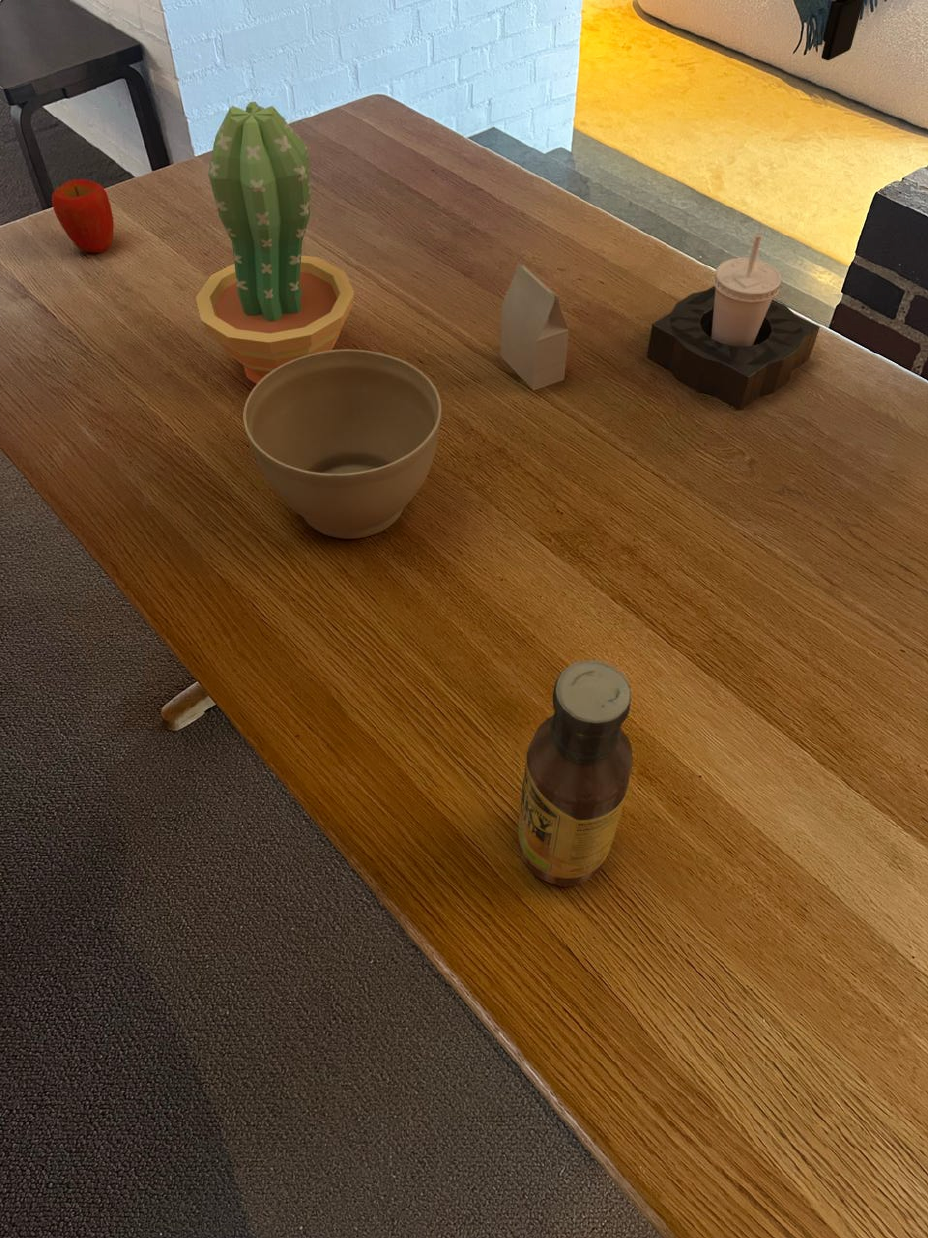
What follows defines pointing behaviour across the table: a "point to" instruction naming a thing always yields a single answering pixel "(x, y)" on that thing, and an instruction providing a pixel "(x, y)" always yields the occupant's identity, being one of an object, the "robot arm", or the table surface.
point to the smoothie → (743, 297)
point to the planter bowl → (344, 437)
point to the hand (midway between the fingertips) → (888, 72)
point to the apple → (85, 214)
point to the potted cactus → (268, 249)
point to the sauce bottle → (576, 775)
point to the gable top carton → (533, 331)
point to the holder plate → (730, 350)
